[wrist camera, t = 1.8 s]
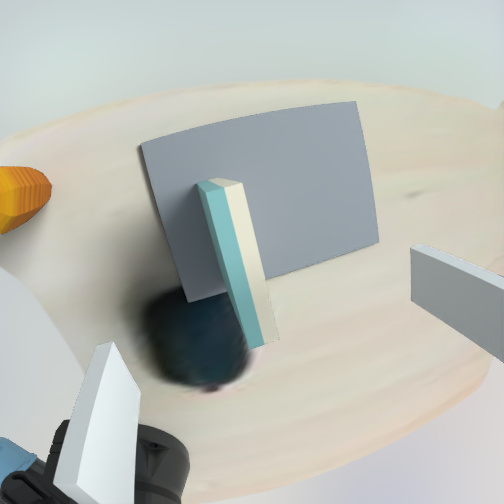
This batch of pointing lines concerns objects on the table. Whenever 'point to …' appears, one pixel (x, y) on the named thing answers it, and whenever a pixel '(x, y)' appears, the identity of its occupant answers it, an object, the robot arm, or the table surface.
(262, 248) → the mat
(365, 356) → the table surface
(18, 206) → the carrot
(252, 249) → the board
